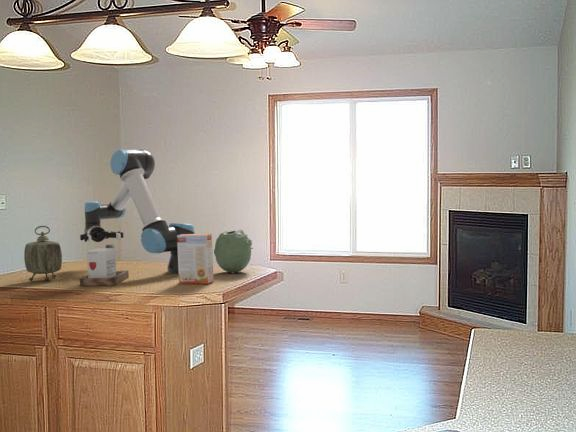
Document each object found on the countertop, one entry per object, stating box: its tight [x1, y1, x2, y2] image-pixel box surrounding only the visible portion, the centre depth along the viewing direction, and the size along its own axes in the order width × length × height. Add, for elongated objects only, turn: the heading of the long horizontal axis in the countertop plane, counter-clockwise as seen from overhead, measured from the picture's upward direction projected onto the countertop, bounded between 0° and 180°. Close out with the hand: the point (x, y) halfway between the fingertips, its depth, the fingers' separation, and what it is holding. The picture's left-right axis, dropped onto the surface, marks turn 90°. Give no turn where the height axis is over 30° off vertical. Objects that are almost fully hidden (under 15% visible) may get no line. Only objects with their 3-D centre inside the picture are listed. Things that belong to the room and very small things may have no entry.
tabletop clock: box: [23, 225, 63, 282], centre depth 306 cm, size 14×9×25 cm, turn 133°
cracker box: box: [177, 233, 215, 285], centre depth 287 cm, size 14×6×21 cm, turn 70°
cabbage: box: [213, 229, 254, 274], centre depth 313 cm, size 16×19×20 cm
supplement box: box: [86, 247, 117, 278], centre depth 293 cm, size 9×9×15 cm
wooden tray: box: [79, 244, 130, 287], centre depth 298 cm, size 15×23×15 cm, turn 178°
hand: (105, 237), depth 315 cm, fingers open, 13 cm apart
